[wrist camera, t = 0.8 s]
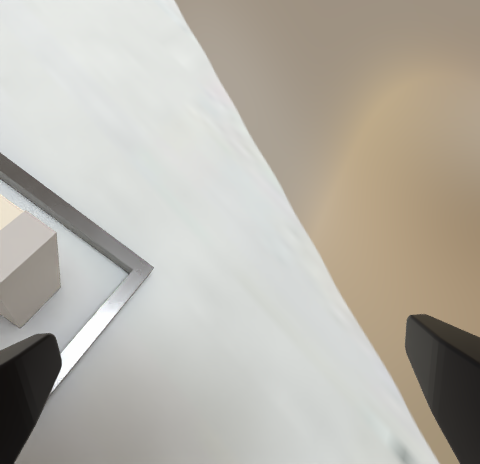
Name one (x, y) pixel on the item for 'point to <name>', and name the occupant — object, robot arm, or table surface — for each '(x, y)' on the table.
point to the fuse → (25, 263)
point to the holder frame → (95, 237)
